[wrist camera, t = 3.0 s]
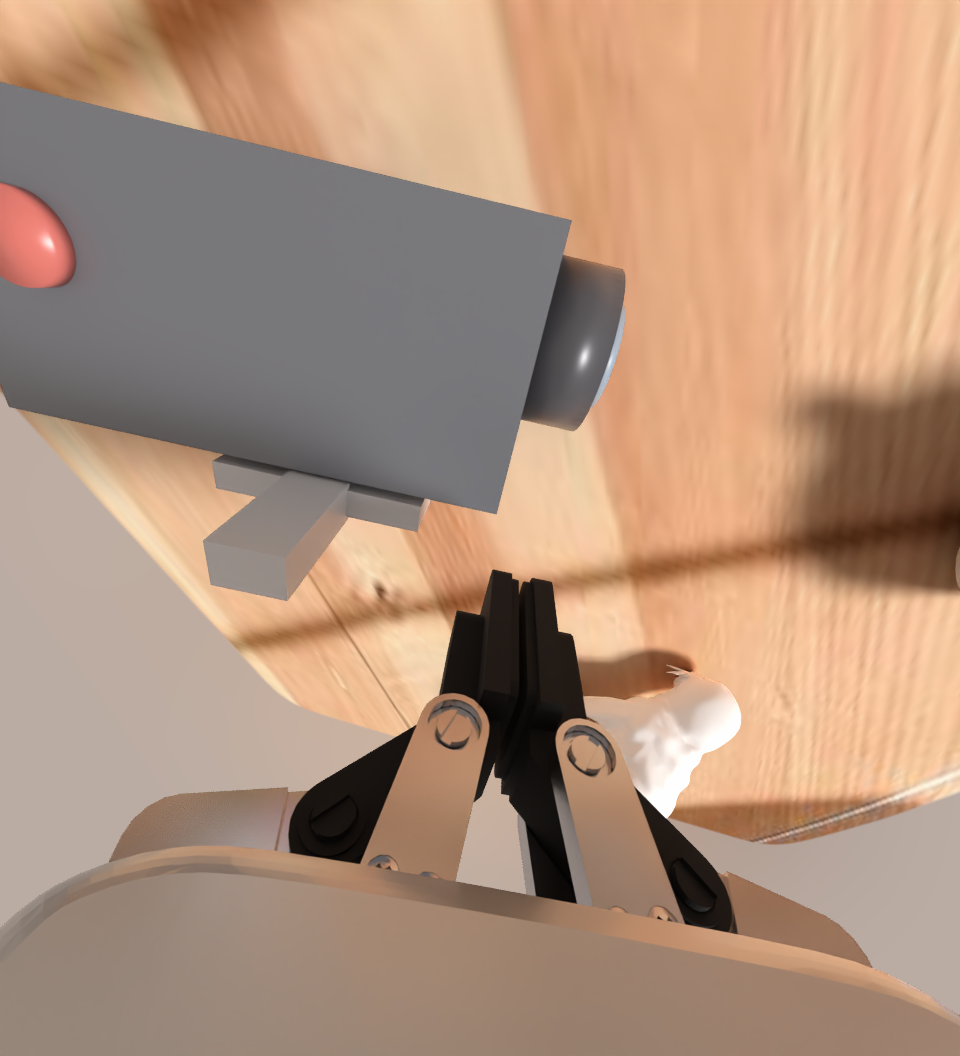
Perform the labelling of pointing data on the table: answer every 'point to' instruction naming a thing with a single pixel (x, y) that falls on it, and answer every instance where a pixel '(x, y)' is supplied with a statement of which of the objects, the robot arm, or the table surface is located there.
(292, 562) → the grey t-shaped piece
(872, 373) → the table surface
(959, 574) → the teacup
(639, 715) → the white figurine
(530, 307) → the camera body
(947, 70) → the table surface
